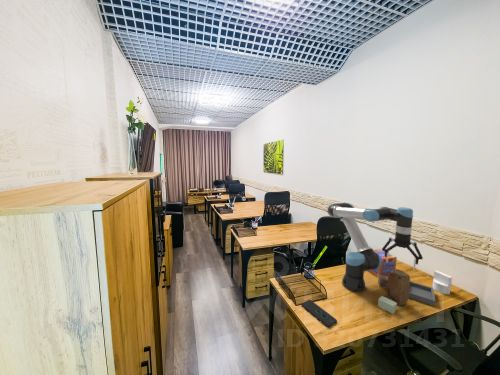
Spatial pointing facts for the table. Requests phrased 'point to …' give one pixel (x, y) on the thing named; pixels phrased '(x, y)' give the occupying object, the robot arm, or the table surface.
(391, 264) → the game box
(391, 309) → the sage brick
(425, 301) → the tray
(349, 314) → the table surface
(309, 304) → the smart home device
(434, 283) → the white phone stand
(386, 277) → the walnut cube
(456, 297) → the table surface
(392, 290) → the block
